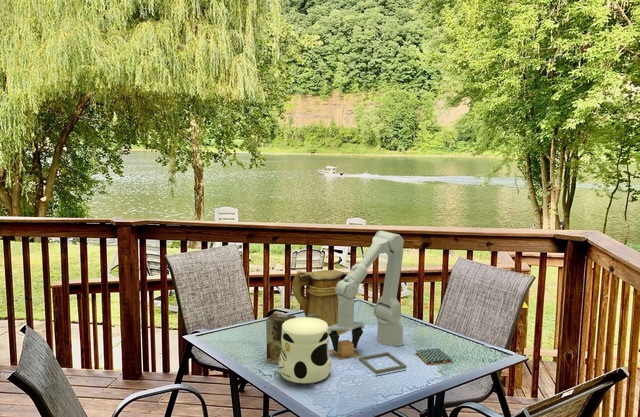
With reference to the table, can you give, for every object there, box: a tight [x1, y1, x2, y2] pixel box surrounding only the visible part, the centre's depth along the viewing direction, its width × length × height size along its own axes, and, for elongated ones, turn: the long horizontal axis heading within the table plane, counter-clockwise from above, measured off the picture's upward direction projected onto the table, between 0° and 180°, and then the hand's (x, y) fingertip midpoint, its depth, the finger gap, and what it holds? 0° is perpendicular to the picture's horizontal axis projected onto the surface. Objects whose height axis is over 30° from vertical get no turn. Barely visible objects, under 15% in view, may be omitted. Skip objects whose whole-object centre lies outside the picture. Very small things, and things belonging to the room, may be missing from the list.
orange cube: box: [338, 339, 355, 356], centre depth 187 cm, size 4×4×4 cm
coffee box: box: [265, 313, 297, 365], centre depth 182 cm, size 9×6×16 cm
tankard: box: [291, 269, 348, 337], centre depth 211 cm, size 18×24×25 cm
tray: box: [358, 351, 407, 377], centre depth 179 cm, size 12×12×2 cm
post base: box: [328, 349, 362, 361], centre depth 187 cm, size 9×9×4 cm
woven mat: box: [414, 347, 453, 366], centre depth 186 cm, size 10×11×2 cm
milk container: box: [278, 316, 332, 386], centre depth 169 cm, size 17×17×18 cm
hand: (345, 349), depth 187 cm, fingers open, 7 cm apart
